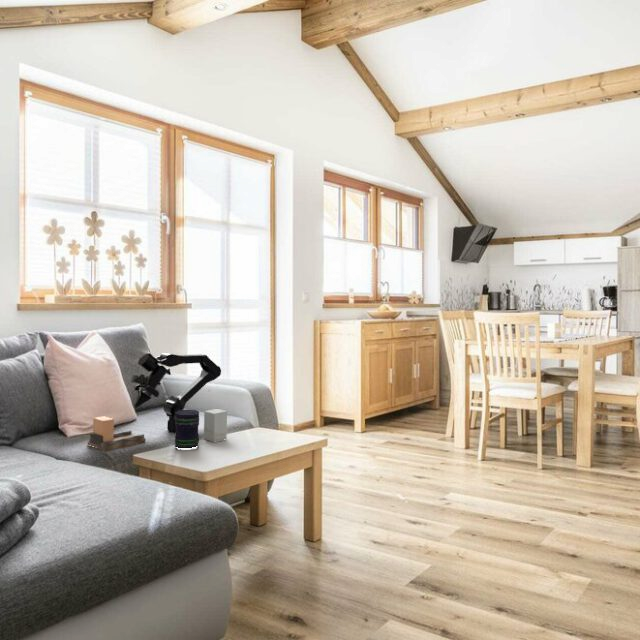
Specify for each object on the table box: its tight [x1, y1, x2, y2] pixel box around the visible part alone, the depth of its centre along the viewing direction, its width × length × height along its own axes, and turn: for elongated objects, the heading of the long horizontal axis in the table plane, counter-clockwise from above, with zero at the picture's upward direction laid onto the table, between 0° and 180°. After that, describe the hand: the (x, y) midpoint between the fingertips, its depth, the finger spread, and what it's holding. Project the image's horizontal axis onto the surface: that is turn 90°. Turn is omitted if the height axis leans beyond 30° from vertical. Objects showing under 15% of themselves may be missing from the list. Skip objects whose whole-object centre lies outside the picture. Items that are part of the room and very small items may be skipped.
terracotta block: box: [92, 415, 115, 442], centre depth 267 cm, size 5×7×10 cm
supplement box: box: [203, 408, 228, 442], centre depth 284 cm, size 7×7×13 cm
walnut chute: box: [87, 429, 147, 452], centre depth 273 cm, size 20×12×6 cm, turn 141°
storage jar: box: [174, 409, 200, 448], centre depth 270 cm, size 10×10×15 cm
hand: (134, 407), depth 282 cm, fingers closed
